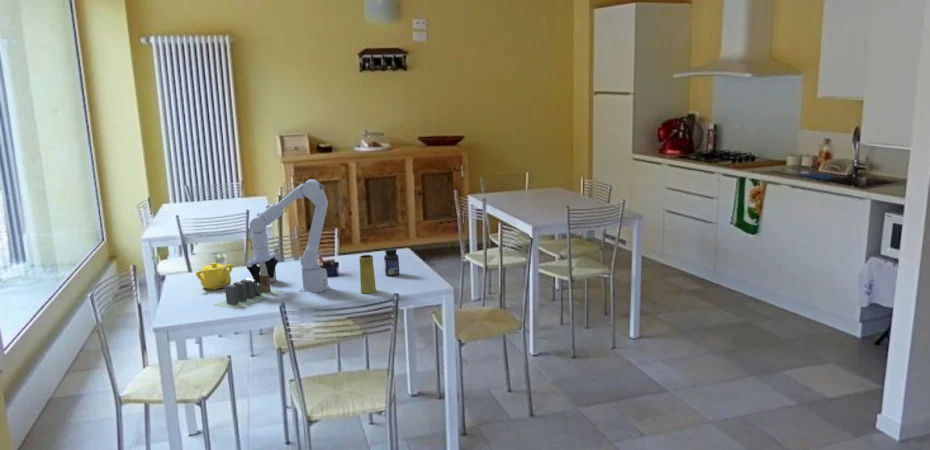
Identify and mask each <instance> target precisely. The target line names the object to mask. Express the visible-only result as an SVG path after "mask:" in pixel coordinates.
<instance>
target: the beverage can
mask: <svg viewBox="0 0 930 450" xmlns="http://www.w3.org/2000/svg"><path fill="white" fill-rule="evenodd" d="M269 254H274V253H272V252H269ZM258 266H260V267H261V268H260V274H266V275H268V273H267V267H266V264H265V262H263V263H260V264H258ZM269 279H270V284H271V283H274V282H276V281H277V272H276V269H275V271H274V277H273V278H269Z"/></svg>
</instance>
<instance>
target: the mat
mask: <svg viewBox="0 0 930 450" xmlns="http://www.w3.org/2000/svg"><path fill="white" fill-rule="evenodd" d="M270 290H271V292H269V293H264V292H262V294H261V295H260V296H256V295H255V298H253V299H249V298H247V301H245V302H240V301H239V304H237V305H231V304H227V301H226V300H223V301H220V302H218V303H215V304H214V306H217V307H222V308H227V309H232V310H233V309H235V310H237V309H239V308H241V307H242V308H243V307H245V306H248V305H250V304H254V303H256V302H257V301H261V300H263V299H266V298H268V297H270V296H273V295H276V294H279V293H281V292H283V290H282V289H275V288H270Z"/></svg>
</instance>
